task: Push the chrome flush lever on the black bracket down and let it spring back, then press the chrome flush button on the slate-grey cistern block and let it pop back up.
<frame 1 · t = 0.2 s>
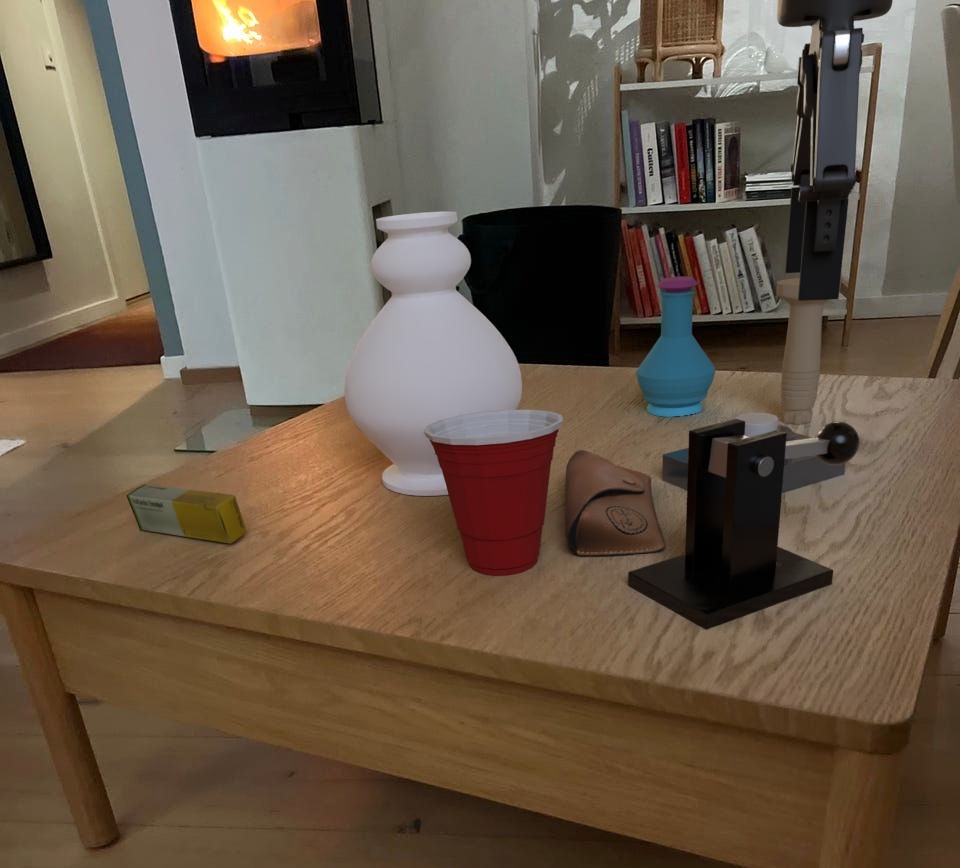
hand: (809, 285, 73), 19 cm above the table, tool pointing down, fingers open, 13 cm apart
plastic cup: (503, 562, 78), on the table
flush lever: (788, 449, 68), point 9 cm above the table, hinge at -6.6°
cistern block: (752, 478, 91), on the table
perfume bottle: (674, 410, 114), on the table
medication box: (191, 536, 89), on the table
flush button: (755, 427, 88), point 5 cm above the table, slide at 0.1 cm
sunglasses case: (612, 518, 85), on the table
lever bracket: (728, 585, 71), on the table
decorative vase: (442, 477, 98), on the table
handle: (796, 423, 106), on the table
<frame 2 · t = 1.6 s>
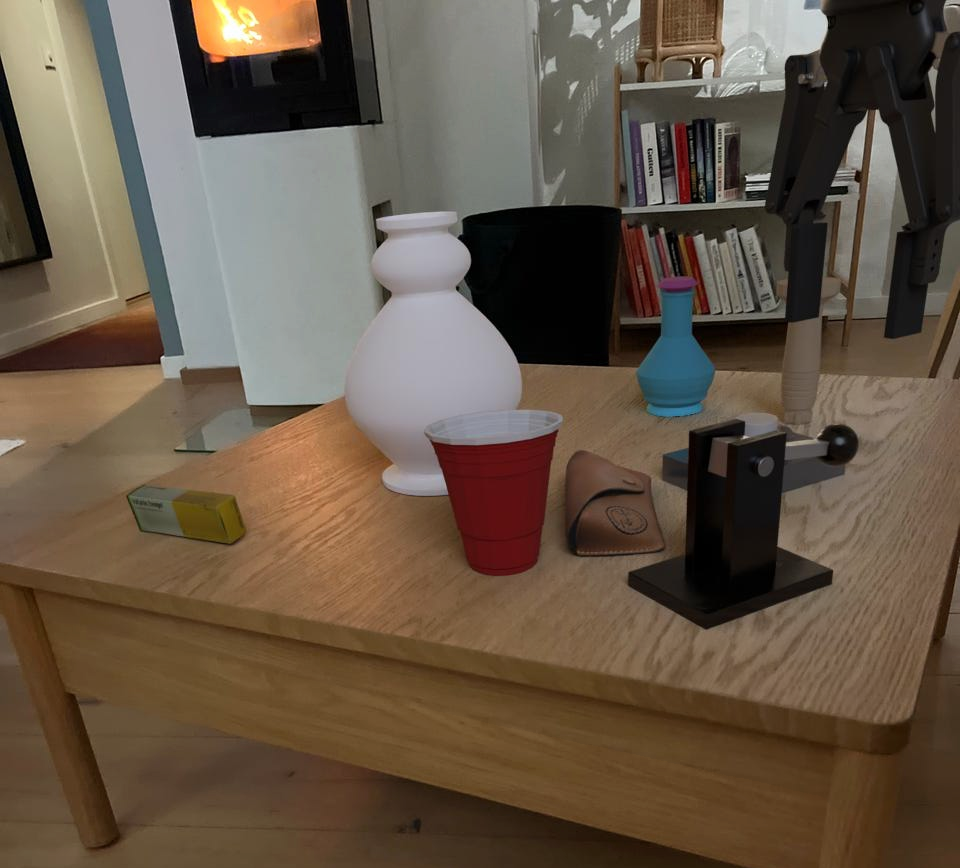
hand: (849, 326, 66), 17 cm above the table, tool pointing down, fingers open, 8 cm apart
flush lever: (788, 450, 68), point 9 cm above the table, hinge at -7.4°
everything else where it was.
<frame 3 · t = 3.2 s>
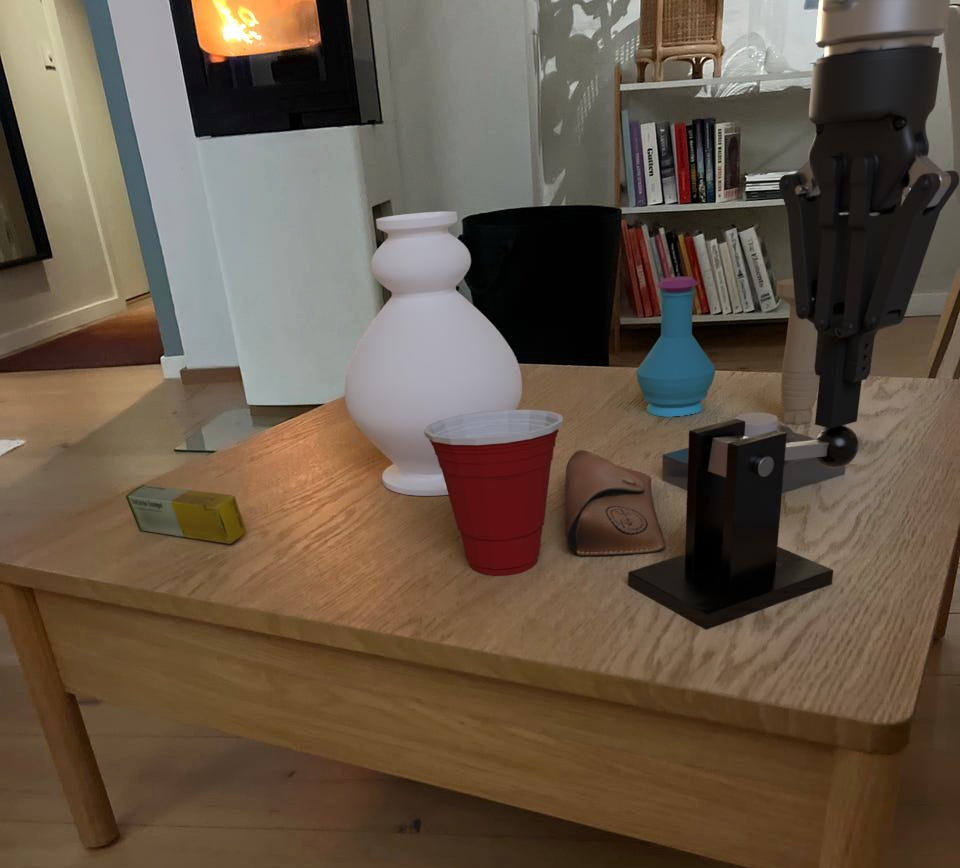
hand: (835, 422, 69), 10 cm above the table, tool pointing down, fingers closed
flush lever: (788, 451, 68), point 9 cm above the table, hinge at -7.9°, touching gripper
everything else where it was.
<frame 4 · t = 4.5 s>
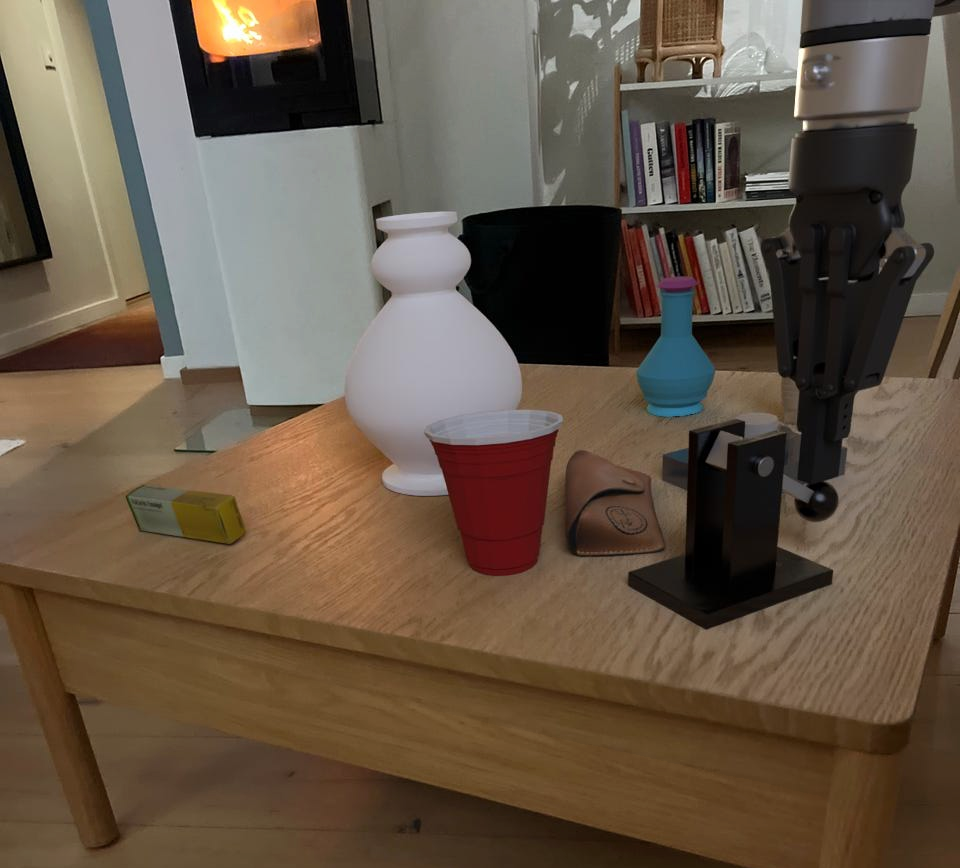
hand: (817, 477, 71), 7 cm above the table, tool pointing down, fingers closed
flush lever: (778, 480, 69), point 7 cm above the table, hinge at -32.4°, touching gripper
everything else where it was.
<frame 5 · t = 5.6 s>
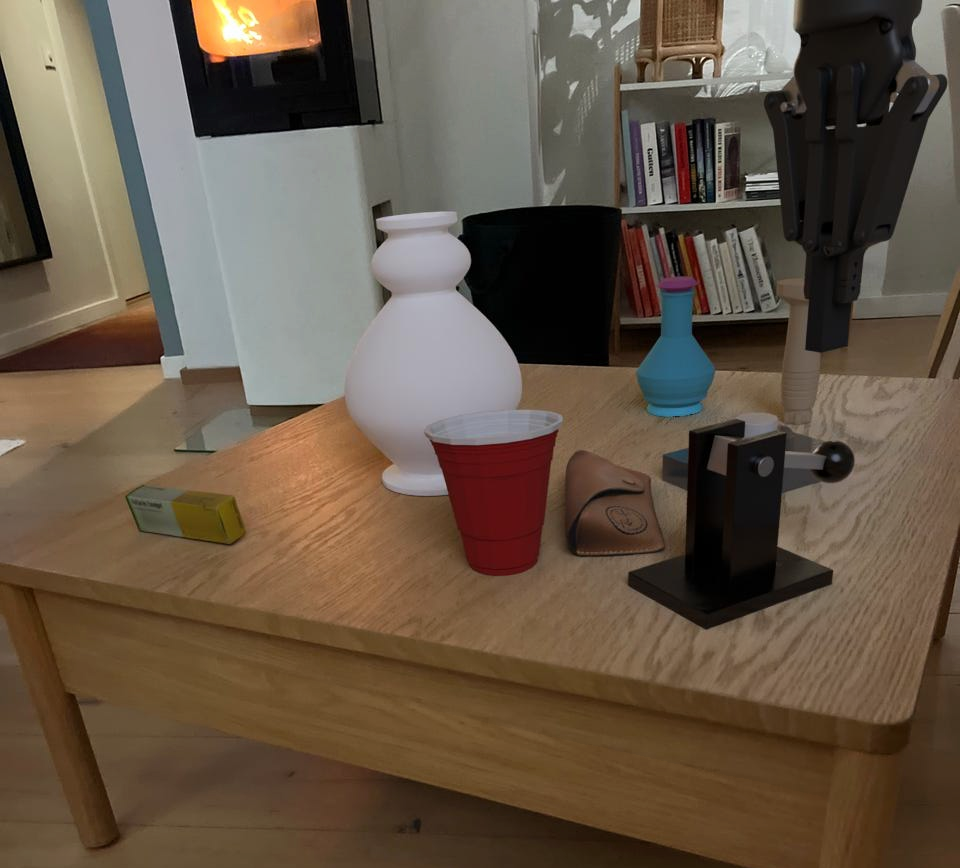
hand: (826, 347, 68), 16 cm above the table, tool pointing down, fingers closed
flush lever: (786, 459, 68), point 9 cm above the table, hinge at -14.6°
everything else where it was.
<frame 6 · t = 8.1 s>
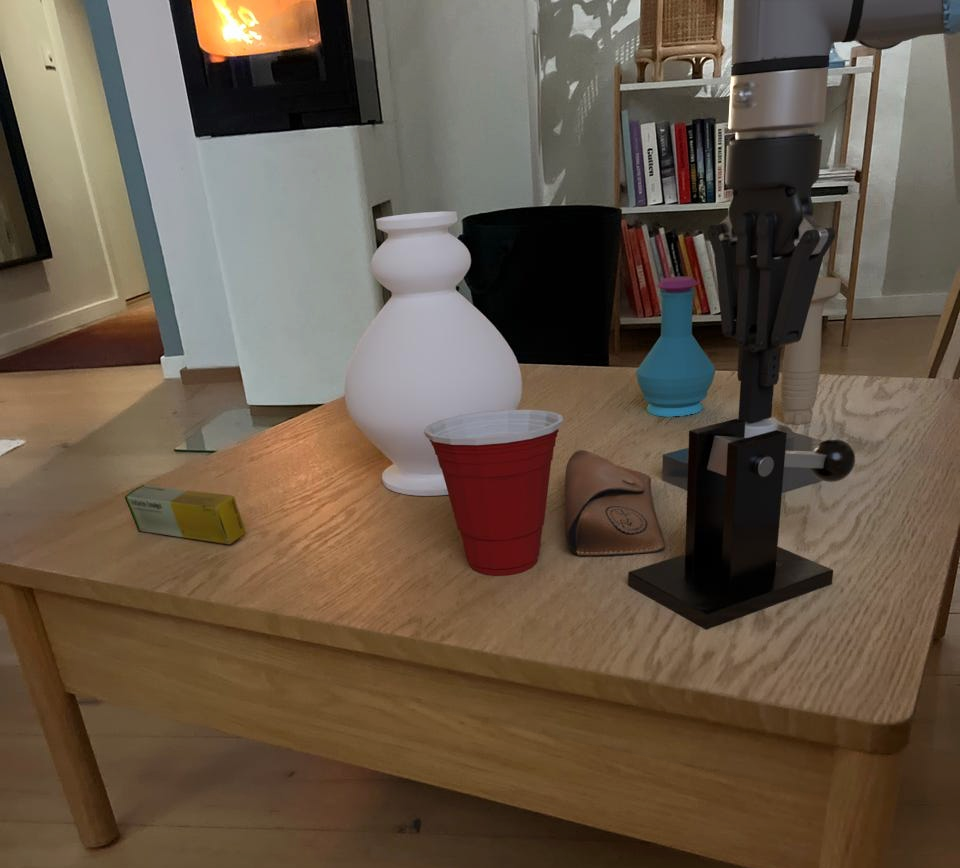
hand: (754, 418, 88), 6 cm above the table, tool pointing down, fingers closed
flush lever: (786, 458, 68), point 9 cm above the table, hinge at -14.0°
flush button: (755, 430, 88), point 5 cm above the table, slide at -0.2 cm, touching gripper
everything else where it was.
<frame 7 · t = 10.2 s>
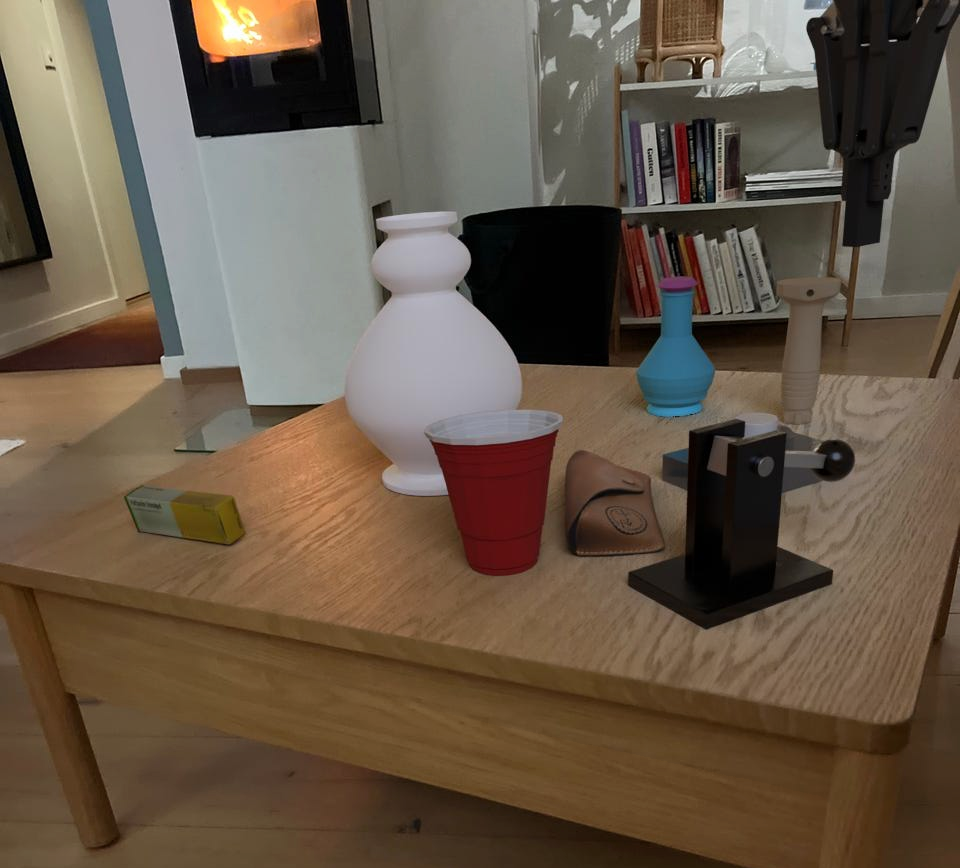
hand: (860, 244, 78), 21 cm above the table, tool pointing down, fingers closed
flush button: (755, 427, 88), point 5 cm above the table, slide at 0.1 cm
everything else where it was.
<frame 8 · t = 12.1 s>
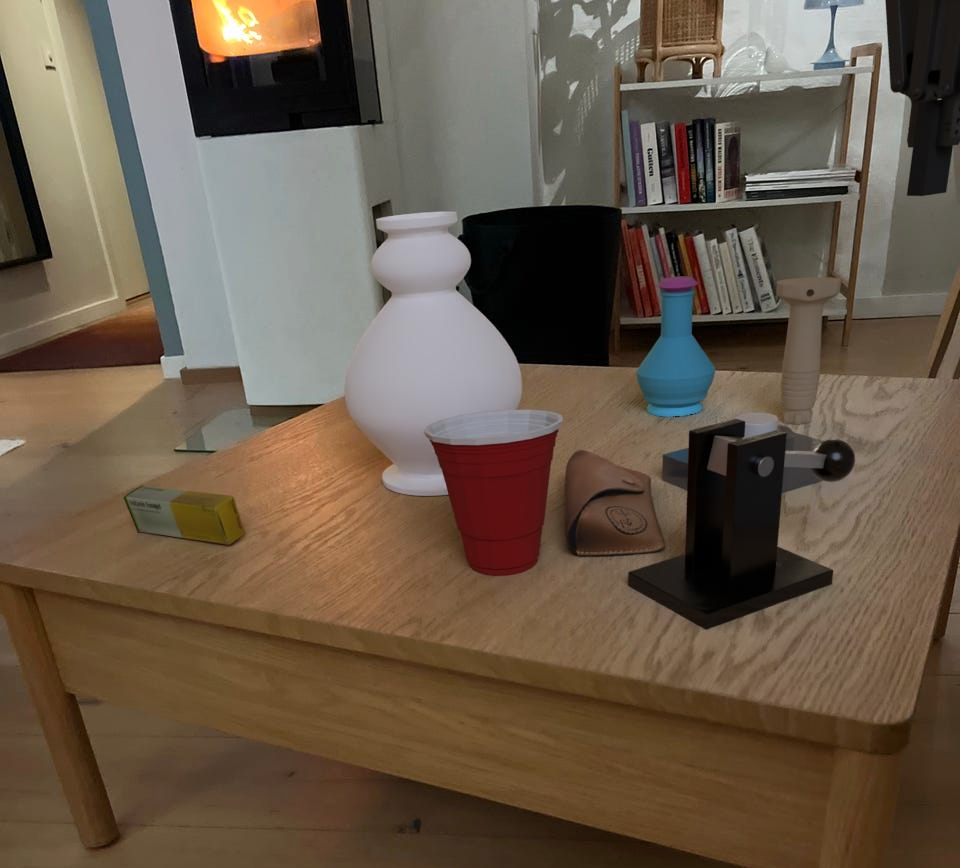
hand: (926, 193, 74), 24 cm above the table, tool pointing down, fingers closed
nothing on the table moved.
at the end: flush lever reached -32° during the clip, -14° at the end; flush button pushed in 1.0 cm at the most during the clip, back to where it started at the end; flush button slide at 0.1 cm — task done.
